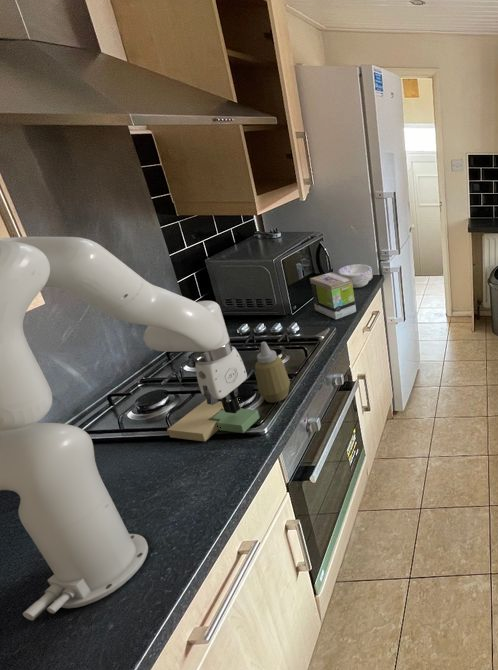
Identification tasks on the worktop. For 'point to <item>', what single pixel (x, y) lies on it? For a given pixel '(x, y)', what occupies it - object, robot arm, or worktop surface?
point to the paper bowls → (357, 274)
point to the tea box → (333, 295)
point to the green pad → (236, 420)
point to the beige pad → (197, 423)
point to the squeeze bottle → (271, 375)
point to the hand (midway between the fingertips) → (232, 410)
